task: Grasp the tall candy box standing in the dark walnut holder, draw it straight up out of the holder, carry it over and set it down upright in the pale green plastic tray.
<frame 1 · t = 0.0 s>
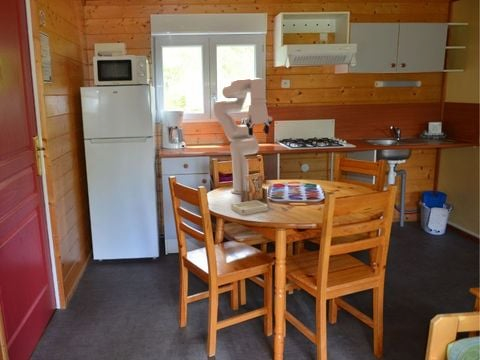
hand: (258, 134, 232), 37 cm above the table, tool pointing down, fingers open, 9 cm apart
tray: (249, 209, 223), on the table
candy box: (254, 202, 237), resting in holder
holder: (254, 201, 237), on the table
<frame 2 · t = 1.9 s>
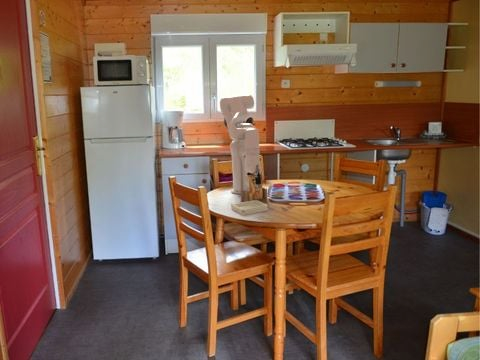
hand: (253, 183, 234), 11 cm above the table, tool pointing down, fingers open, 9 cm apart
nothing on the table moved.
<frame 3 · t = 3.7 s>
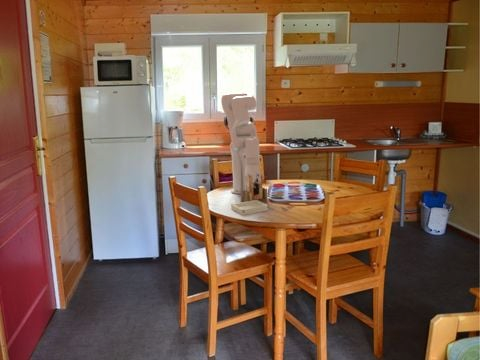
hand: (253, 193, 236), 5 cm above the table, tool pointing down, fingers closed on candy box, 4 cm apart
candy box: (254, 202, 237), resting in holder, touching gripper
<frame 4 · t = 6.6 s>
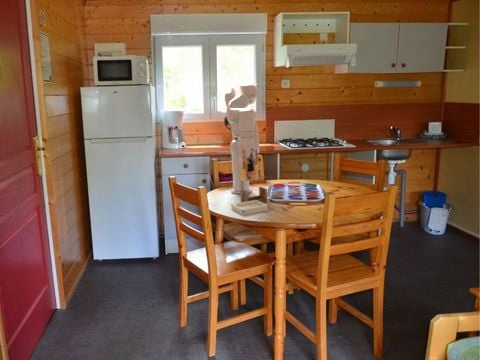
hand: (248, 170, 219), 21 cm above the table, tool pointing down, fingers closed on candy box, 4 cm apart
candy box: (249, 180, 220), point 16 cm above the table, touching gripper
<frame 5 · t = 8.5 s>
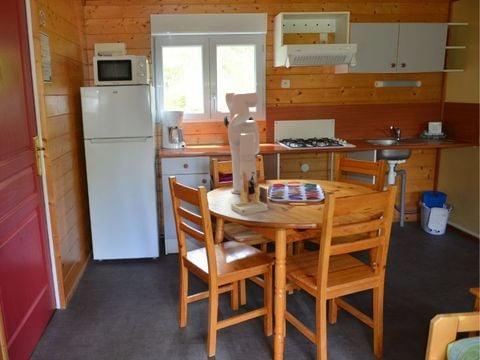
hand: (249, 192, 221), 9 cm above the table, tool pointing down, fingers closed on candy box, 4 cm apart
candy box: (250, 202, 222), point 4 cm above the table, touching gripper
when the fingers open (7 cm above the table, at t = 9.8 s): candy box stays where it is, resting on tray.
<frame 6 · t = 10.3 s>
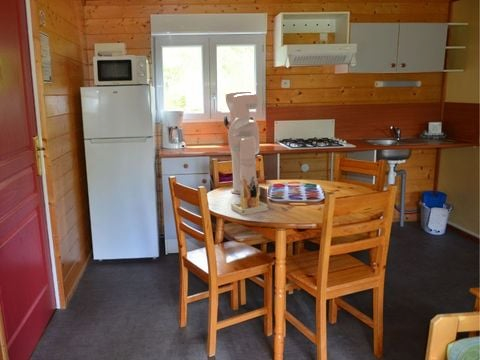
hand: (249, 195, 222), 8 cm above the table, tool pointing down, fingers open, 9 cm apart
candy box: (250, 207, 223), point 1 cm above the table, touching tray
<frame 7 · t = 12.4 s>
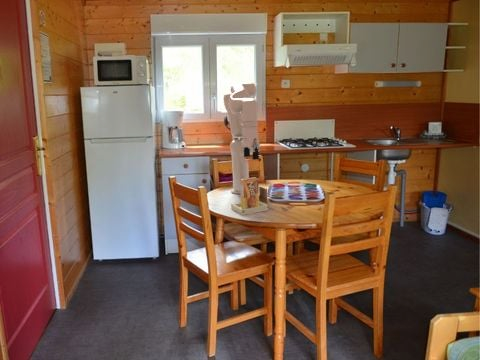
hand: (251, 157, 221), 26 cm above the table, tool pointing down, fingers open, 9 cm apart
nothing on the table moved.
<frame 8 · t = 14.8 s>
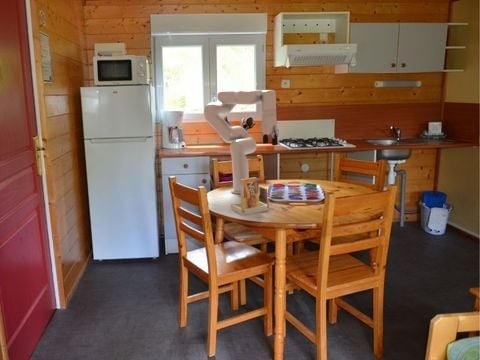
hand: (270, 144, 239), 30 cm above the table, tool pointing down, fingers open, 9 cm apart
nothing on the table moved.
at the end: candy box inside the target area on the tray (0.4 cm from its centre), point 0.8 cm above the tray's base; candy box tilted 0°; the gripper is holding nothing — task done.
